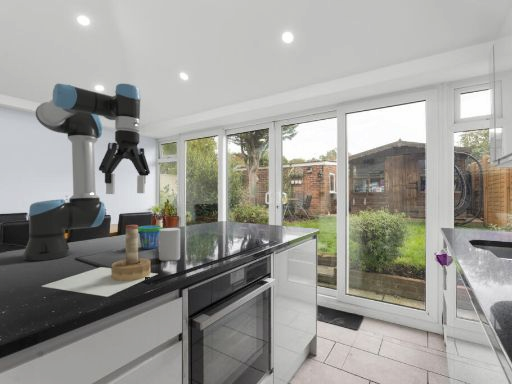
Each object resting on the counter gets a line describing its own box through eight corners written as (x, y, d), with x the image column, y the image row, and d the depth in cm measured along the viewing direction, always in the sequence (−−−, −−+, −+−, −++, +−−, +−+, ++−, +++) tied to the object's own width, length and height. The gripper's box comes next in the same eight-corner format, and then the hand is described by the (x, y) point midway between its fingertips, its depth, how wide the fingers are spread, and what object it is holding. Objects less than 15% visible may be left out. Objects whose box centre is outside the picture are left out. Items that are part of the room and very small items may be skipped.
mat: (40, 287, 76) (40, 286, 76) (100, 268, 95) (100, 267, 95) (107, 298, 69) (107, 296, 69) (158, 275, 88) (158, 273, 88)
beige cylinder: (122, 276, 85) (123, 225, 85) (131, 273, 89) (131, 224, 88) (132, 277, 84) (132, 226, 84) (140, 274, 87) (140, 225, 87)
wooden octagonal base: (103, 278, 83) (103, 265, 83) (130, 268, 93) (130, 257, 93) (132, 282, 79) (132, 269, 79) (157, 272, 90) (157, 260, 90)
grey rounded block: (183, 256, 112) (183, 228, 112) (175, 261, 104) (175, 231, 104) (164, 256, 113) (164, 227, 113) (155, 261, 105) (155, 230, 105)
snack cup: (139, 252, 120) (139, 229, 120) (128, 248, 127) (128, 227, 127) (170, 246, 132) (170, 226, 132) (158, 243, 139) (158, 224, 139)
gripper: (105, 122, 79) (104, 194, 79) (160, 137, 103) (159, 193, 103) (86, 123, 81) (85, 193, 82) (144, 138, 105) (143, 192, 105)
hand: (126, 193), depth 92 cm, fingers open, 13 cm apart
